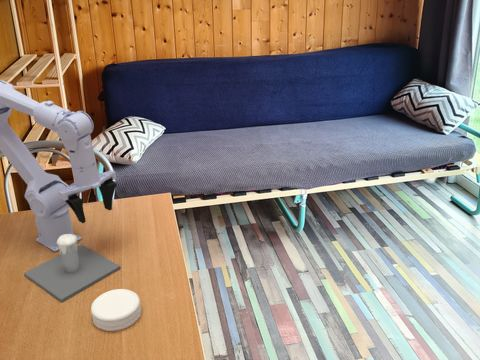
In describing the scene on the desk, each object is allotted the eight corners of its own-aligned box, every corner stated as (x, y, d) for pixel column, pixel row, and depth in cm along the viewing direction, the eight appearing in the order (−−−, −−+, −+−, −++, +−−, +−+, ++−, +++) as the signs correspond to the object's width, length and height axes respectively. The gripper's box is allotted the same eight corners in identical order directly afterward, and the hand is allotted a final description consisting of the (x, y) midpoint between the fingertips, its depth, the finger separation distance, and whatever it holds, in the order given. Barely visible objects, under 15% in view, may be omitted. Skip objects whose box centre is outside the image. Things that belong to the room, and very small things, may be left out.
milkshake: (82, 274, 118) (75, 238, 114) (59, 274, 119) (51, 238, 114) (88, 263, 122) (81, 228, 118) (67, 263, 123) (59, 227, 118)
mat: (24, 275, 120) (23, 272, 120) (82, 246, 131) (81, 244, 131) (61, 302, 111) (61, 299, 110) (120, 268, 121) (120, 266, 121)
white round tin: (121, 294, 113) (119, 282, 111) (151, 313, 107) (149, 299, 105) (83, 318, 106) (80, 305, 104) (112, 339, 100) (110, 325, 98)
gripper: (65, 178, 112) (78, 232, 117) (119, 157, 121) (129, 207, 127) (49, 172, 116) (62, 224, 121) (102, 152, 126) (112, 201, 131)
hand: (95, 215), depth 124 cm, fingers open, 7 cm apart
